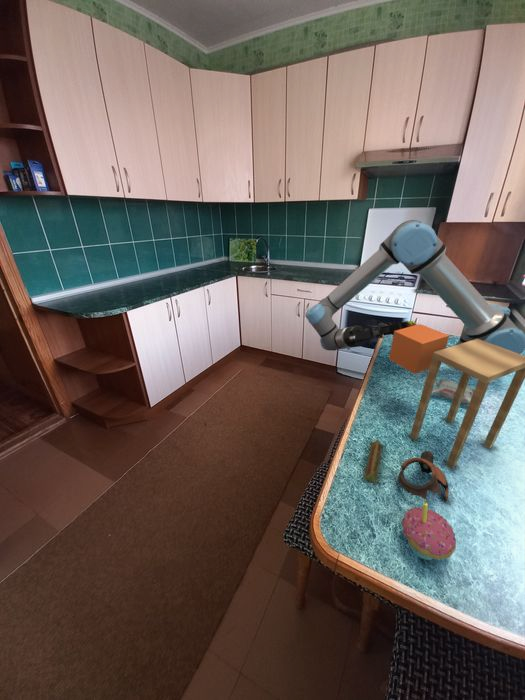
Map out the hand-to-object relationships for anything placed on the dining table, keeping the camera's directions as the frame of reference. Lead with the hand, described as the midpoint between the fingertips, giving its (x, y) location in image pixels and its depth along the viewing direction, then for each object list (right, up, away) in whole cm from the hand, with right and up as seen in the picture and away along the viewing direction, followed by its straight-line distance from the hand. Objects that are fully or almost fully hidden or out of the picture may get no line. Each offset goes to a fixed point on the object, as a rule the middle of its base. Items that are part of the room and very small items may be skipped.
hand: (404, 326), depth 82 cm
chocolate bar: (-13, -34, -11) cm, 38 cm away
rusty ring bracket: (-4, -37, -17) cm, 41 cm away
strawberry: (+26, -1, +51) cm, 57 cm away
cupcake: (-11, -43, -28) cm, 53 cm away
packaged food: (+21, -22, +11) cm, 32 cm away
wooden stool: (+9, -31, -6) cm, 33 cm away
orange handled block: (+1, -8, +4) cm, 9 cm away
